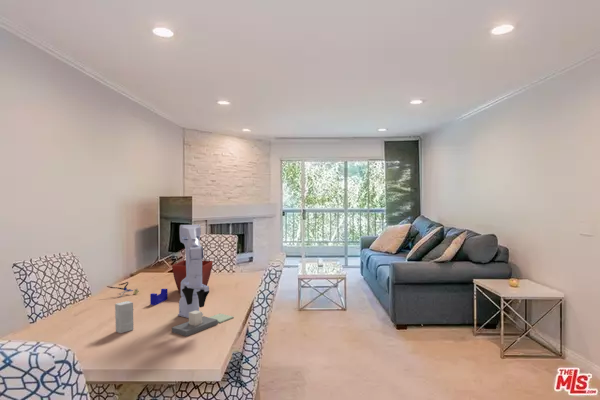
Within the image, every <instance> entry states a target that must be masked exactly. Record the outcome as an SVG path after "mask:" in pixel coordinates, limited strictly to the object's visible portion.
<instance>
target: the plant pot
mask: <svg viewBox="0 0 600 400" xmlns="http://www.w3.org/2000/svg"><path fill="white" fill-rule="evenodd" d="M213 263H214V261H213V260H202V284H204V285H206V286H208V284H209V280H210V278H211V272H212V269H213V265H214V264H213ZM171 269H172V274H173V278H174V283H175V285H176V288H177V291H178V293H181V281H182V280H183V279H184V278H185V277H186V259H184V260H181V261H178V262H177V263H176V262H175V263H174V264H171Z"/></svg>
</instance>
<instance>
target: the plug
mask: <svg viewBox="0 0 600 400" xmlns="http://www.w3.org/2000/svg"><path fill="white" fill-rule="evenodd" d="M202 313H203V311H200V310H199V311H197V310H195V311H192V312H189V318H188V322H189V325H193V326H197V325H199V324H202V317H203V315H202Z"/></svg>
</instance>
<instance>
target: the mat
mask: <svg viewBox="0 0 600 400" xmlns="http://www.w3.org/2000/svg"><path fill="white" fill-rule="evenodd" d="M208 317H209V318H213V319H217V320H218V324H221V323H224V322H227V321H230V320H231V319H232V320H233V319H234V318H235V317H234V315H233V316H232V315H229V314H224V313H217V314H214V315H211V316H208Z"/></svg>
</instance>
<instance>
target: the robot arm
mask: <svg viewBox="0 0 600 400" xmlns="http://www.w3.org/2000/svg"><path fill="white" fill-rule="evenodd" d="M201 229H202V227H201V225H200V224H199V223H198V224H180V225H179V241H180V243H182V244H183V245H184V248H185V260H186V277H185V278H184V279H183V280H182V281H181V292H180V296H181V297H180V298H179V302H178V313H177V316H179V317H182V318H187V319H189V312H192V311H195V310H197V311H200V308H203V307H205V303H206V300H207V298H208V295H209V294H210V287H209V285H207V286H206V285H204V284H202V261H204V260H203V259H204V248H203V246H201V240H200V239H201V236H202V235H201V234H202V231H201ZM202 316H204V313H203V312H202Z"/></svg>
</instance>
